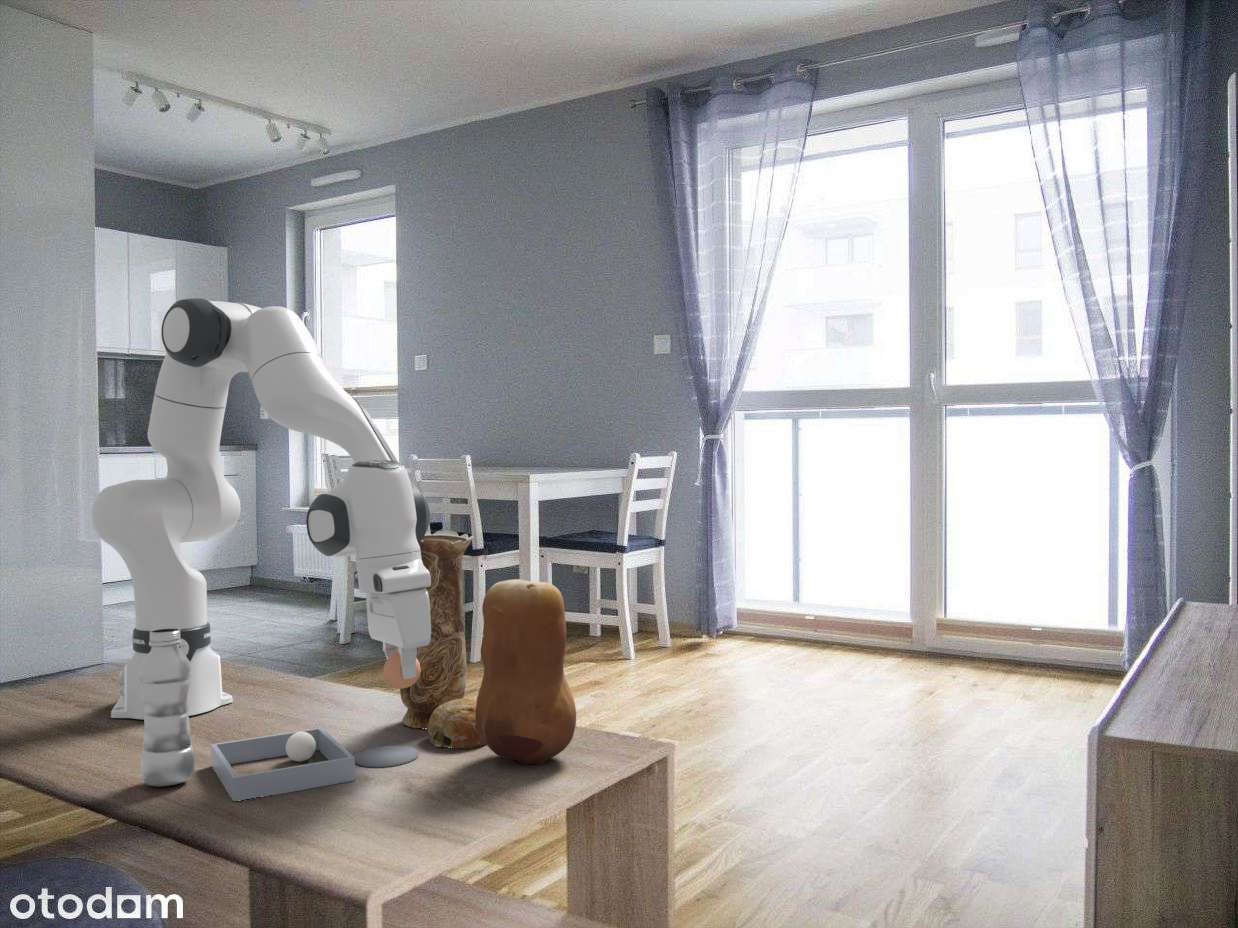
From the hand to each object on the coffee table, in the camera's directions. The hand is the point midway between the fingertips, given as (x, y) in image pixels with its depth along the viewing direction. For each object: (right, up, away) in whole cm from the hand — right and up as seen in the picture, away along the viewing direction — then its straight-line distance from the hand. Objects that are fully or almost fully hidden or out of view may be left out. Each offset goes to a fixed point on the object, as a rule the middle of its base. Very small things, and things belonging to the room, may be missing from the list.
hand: (402, 675), depth 137 cm
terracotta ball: (0, -2, 0) cm, 2 cm away
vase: (0, -12, +20) cm, 24 cm away
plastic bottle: (-29, -13, -8) cm, 32 cm away
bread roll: (+6, -12, +11) cm, 18 cm away
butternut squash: (+17, -12, 0) cm, 21 cm away
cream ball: (-14, -12, +1) cm, 19 cm away
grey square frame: (-15, -12, -4) cm, 20 cm away
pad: (-3, -12, +2) cm, 12 cm away
